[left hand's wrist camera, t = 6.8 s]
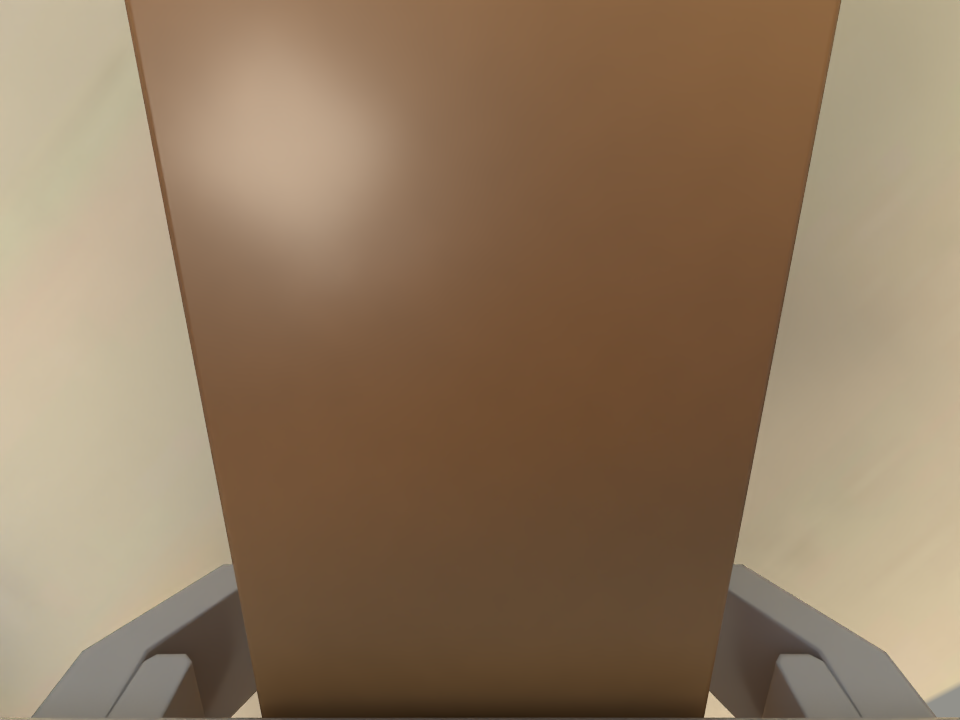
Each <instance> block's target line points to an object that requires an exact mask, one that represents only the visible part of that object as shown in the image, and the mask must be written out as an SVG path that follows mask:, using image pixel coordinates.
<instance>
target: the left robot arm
mask: <svg viewBox="0 0 960 720" xmlns="http://www.w3.org/2000/svg"><path fill="white" fill-rule="evenodd" d="M256 691H257V688H256V683H255V677H254V672H253V667H252V662H251V657H250V651H249V646H248V641H247V636H246V631H245V625H244V620H243V615H242V610H241V604H240V599H239V594H238V589H237V584H236V578H235V573H234V568H233V563H232V565H222V566H220V567H219V568H217V569H215V570H214V571H212V572H210V573H209V574H207V575H206V576H204V577H202V578H201V579H199V580H197V581H196V582H194V583H193V584H191V585H189V586H188V587H186V588H184V589H183V590H181V591H180V592H178V593H176V594H175V595H173V596H171V597H170V598H168V599H167V600H165V601H163V602H162V603H160V604H158V605H157V606H155V607H154V608H152V609H150V610H149V611H147V612H145V613H144V614H142V615H141V616H139V617H137V618H136V619H134V620H132V621H131V622H129V623H128V624H126V625H124V626H123V627H121V628H119V629H118V630H116V631H115V632H113V633H111V634H110V635H108V636H106V637H105V638H103V639H102V640H100V641H98V642H97V643H95V644H93V645H92V646H90V647H89V648H87V649H85V650H84V651H82V652H81V654H80V655H79V656H78V658H77V659H76V660H75V661H74V663H73V664H72V665H71V667H70V668H69V669H68V670H67V672H66V673H65V674H64V676H63V677H62V678H61V680H60V681H59V682H58V683H57V685H56V686H55V687H54V689H53V690H52V691H51V692H50V694H49V695H48V696H47V698H46V699H45V700H44V702H43V703H42V704H41V705H40V707H39V708H38V709H37V711H36V712H35V713H34V714H33V716H32V717H31V718H0V720H960V718H937V717H936V716H935V715H934V713H933V712H932V711H931V709H930V708H929V707H928V706H927V704H926V703H925V702H924V700H923V699H922V698H921V697H920V695H919V694H918V693H917V691H916V690H915V689H914V688H913V686H912V685H911V684H910V682H909V681H908V680H907V679H906V677H905V676H904V675H903V674H902V672H901V671H900V670H899V668H898V667H897V666H896V665H895V663H894V662H893V661H892V659H891V658H890V657H889V656H888V654H887V653H886V652H885V651H883V650H881V649H880V648H878V647H876V646H875V645H873V644H871V643H870V642H868V641H867V640H865V639H863V638H862V637H860V636H858V635H857V634H855V633H853V632H852V631H850V630H849V629H847V628H845V627H844V626H842V625H840V624H839V623H837V622H836V621H834V620H832V619H831V618H829V617H827V616H826V615H824V614H822V613H821V612H819V611H818V610H816V609H814V608H813V607H811V606H809V605H808V604H806V603H804V602H803V601H801V600H800V599H798V598H796V597H795V596H793V595H791V594H790V593H788V592H786V591H785V590H783V589H782V588H780V587H778V586H777V585H775V584H773V583H772V582H770V581H768V580H767V579H765V578H764V577H762V576H760V575H759V574H757V573H755V572H754V571H752V570H750V569H749V568H747V567H746V566H744V565H734V564H733V568H732V573H731V578H730V584H729V589H728V594H727V599H726V604H725V610H724V615H723V620H722V625H721V631H720V636H719V641H718V646H717V651H716V657H715V662H714V667H713V672H712V678H711V683H710V688H709V691H710V692H711V693H712V694H713V695H714V696H715V697H716V698H717V699H718V700H719V701H720V702H721V703H722V704H723V705H724V706H725V707H726V708H727V709H728V710H729V711H730V712H731V713H732V714H733V716H734V717H735V718H231V717H232V716H233V715H234V714H235V713H236V712H237V710H238V709H239V708H240V707H241V706H242V705H243V704H244V703H245V702H246V701H247V700H248V699H249V698H250V697H251V696H252V695H253V694H254V693H255V692H256Z"/></svg>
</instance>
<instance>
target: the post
mask: <svg viewBox="0 0 960 720" xmlns="http://www.w3.org/2000/svg"><path fill="white" fill-rule="evenodd" d="M840 4H841V0H125V5H126V10H127V15H128V20H129V26H130V31H131V36H132V41H133V46H134V52H135V57H136V62H137V67H138V72H139V78H140V83H141V88H142V93H143V99H144V104H145V109H146V114H147V119H148V125H149V130H150V135H151V140H152V145H153V151H154V156H155V161H156V166H157V172H158V177H159V182H160V187H161V192H162V198H163V203H164V208H165V213H166V218H167V224H168V229H169V234H170V239H171V245H172V250H173V255H174V260H175V265H176V271H177V276H178V281H179V286H180V292H181V297H182V302H183V307H184V312H185V318H186V323H187V328H188V333H189V338H190V344H191V349H192V354H193V359H194V365H195V370H196V375H197V380H198V385H199V391H200V396H201V401H202V406H203V411H204V417H205V422H206V427H207V432H208V438H209V443H210V448H211V453H212V458H213V464H214V469H215V474H216V479H217V484H218V490H219V495H220V500H221V505H222V511H223V516H224V521H225V526H226V531H227V537H228V542H229V547H230V552H231V558H232V563H233V568H234V573H235V578H236V584H237V589H238V594H239V599H240V604H241V610H242V615H243V620H244V625H245V631H246V636H247V641H248V646H249V651H250V657H251V662H252V667H253V672H254V677H255V683H256V688H257V693H258V698H259V704H260V709H261V714H262V718H704V714H705V709H706V704H707V698H708V693H709V688H710V683H711V678H712V672H713V667H714V662H715V657H716V651H717V646H718V641H719V636H720V631H721V625H722V620H723V615H724V610H725V604H726V599H727V594H728V589H729V584H730V578H731V573H732V568H733V563H734V557H735V552H736V547H737V542H738V537H739V531H740V526H741V521H742V516H743V510H744V505H745V500H746V495H747V490H748V484H749V479H750V474H751V469H752V463H753V458H754V453H755V448H756V443H757V437H758V432H759V427H760V422H761V416H762V411H763V406H764V401H765V396H766V390H767V385H768V380H769V375H770V369H771V364H772V359H773V354H774V349H775V343H776V338H777V333H778V328H779V322H780V317H781V312H782V307H783V302H784V296H785V291H786V286H787V281H788V275H789V270H790V265H791V260H792V255H793V249H794V244H795V239H796V234H797V228H798V223H799V218H800V213H801V208H802V202H803V197H804V192H805V187H806V181H807V176H808V171H809V166H810V161H811V155H812V150H813V145H814V140H815V134H816V129H817V124H818V119H819V114H820V108H821V103H822V98H823V93H824V87H825V82H826V77H827V72H828V67H829V61H830V56H831V51H832V46H833V40H834V35H835V30H836V25H837V20H838V14H839V9H840Z"/></svg>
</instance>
